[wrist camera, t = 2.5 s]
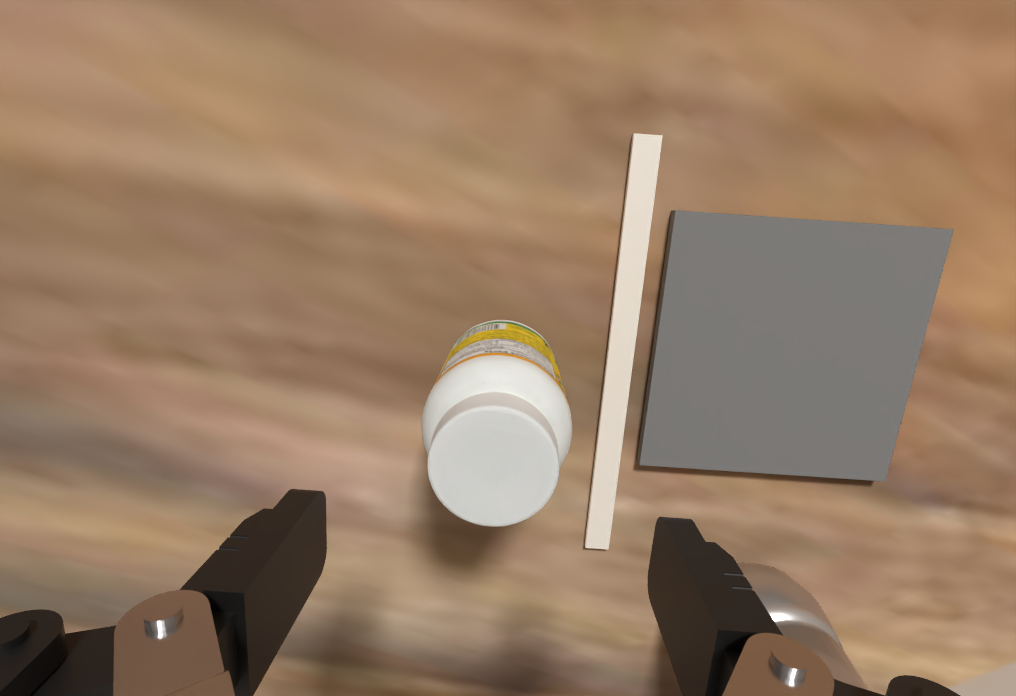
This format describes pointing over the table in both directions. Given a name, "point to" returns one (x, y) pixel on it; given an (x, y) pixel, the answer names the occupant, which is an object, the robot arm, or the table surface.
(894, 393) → the mat
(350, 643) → the table surface
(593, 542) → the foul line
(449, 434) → the supplement bottle
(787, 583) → the plastic bottle
